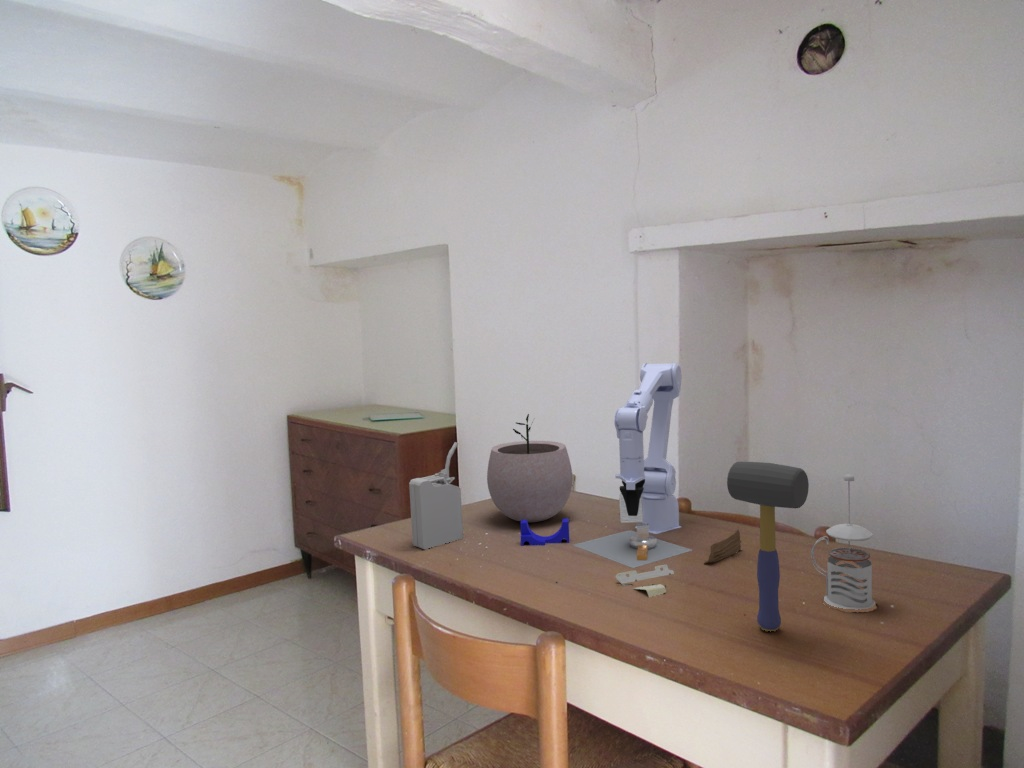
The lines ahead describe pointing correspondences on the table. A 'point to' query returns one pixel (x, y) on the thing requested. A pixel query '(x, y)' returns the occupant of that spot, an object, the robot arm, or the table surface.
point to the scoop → (643, 541)
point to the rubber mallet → (768, 521)
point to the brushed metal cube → (624, 514)
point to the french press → (848, 592)
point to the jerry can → (436, 508)
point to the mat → (629, 549)
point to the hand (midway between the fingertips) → (633, 512)
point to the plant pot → (529, 478)
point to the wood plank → (725, 548)
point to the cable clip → (541, 540)
